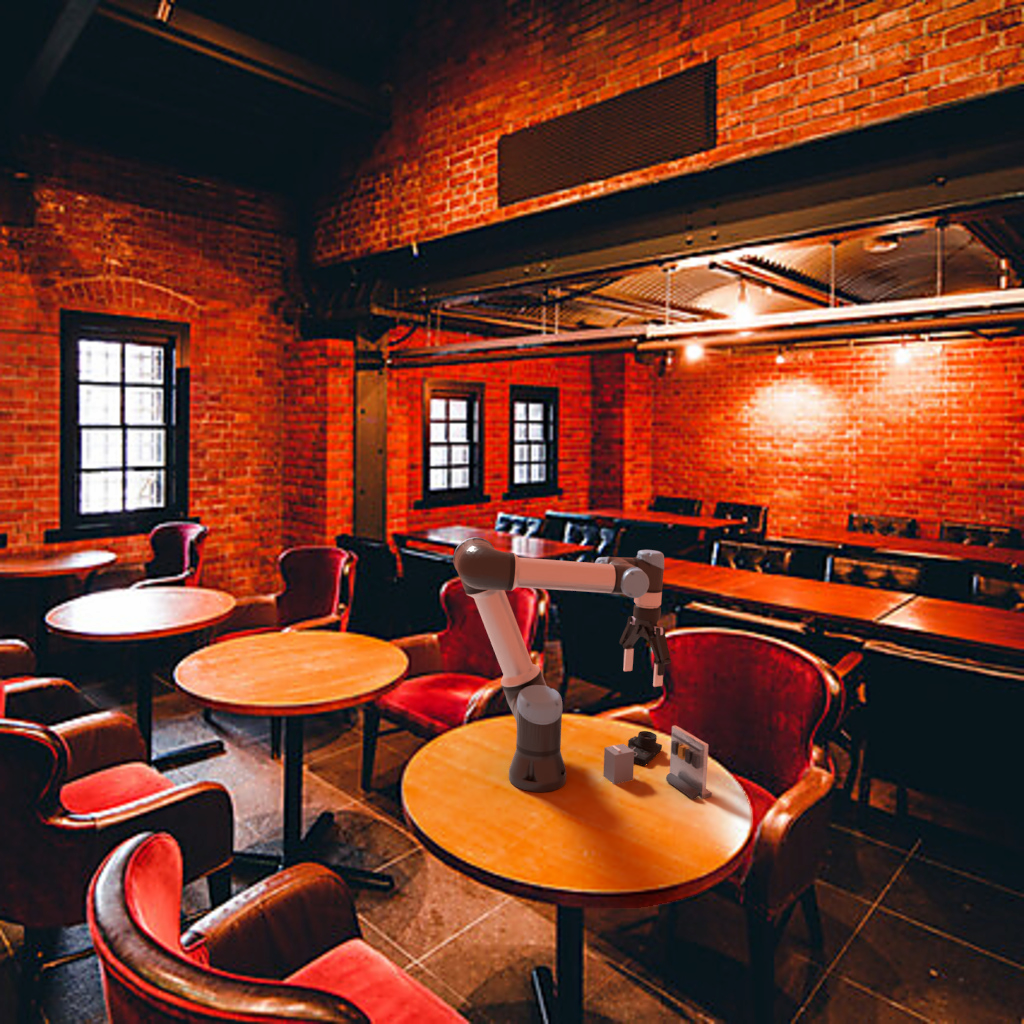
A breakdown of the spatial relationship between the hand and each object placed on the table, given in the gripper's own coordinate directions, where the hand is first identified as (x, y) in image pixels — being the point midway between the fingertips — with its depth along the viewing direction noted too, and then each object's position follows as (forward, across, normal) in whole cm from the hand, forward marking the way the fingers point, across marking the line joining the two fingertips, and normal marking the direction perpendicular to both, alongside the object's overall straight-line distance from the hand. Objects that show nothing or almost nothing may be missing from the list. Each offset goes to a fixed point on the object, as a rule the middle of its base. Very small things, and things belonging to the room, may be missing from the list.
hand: (642, 678), depth 209 cm
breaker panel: (+22, -23, +1) cm, 31 cm away
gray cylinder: (+22, -24, +4) cm, 32 cm away
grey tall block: (+22, -11, +15) cm, 29 cm away
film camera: (+22, -3, 0) cm, 22 cm away
